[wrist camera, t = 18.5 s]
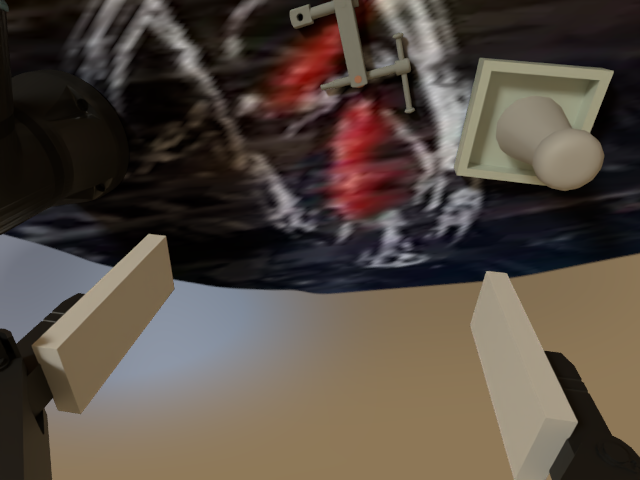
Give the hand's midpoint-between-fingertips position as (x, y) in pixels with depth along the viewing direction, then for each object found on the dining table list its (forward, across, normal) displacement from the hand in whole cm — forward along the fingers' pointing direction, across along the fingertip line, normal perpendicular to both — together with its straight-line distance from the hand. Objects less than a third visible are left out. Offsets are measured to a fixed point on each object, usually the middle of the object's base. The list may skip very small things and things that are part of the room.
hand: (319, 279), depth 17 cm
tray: (+29, +16, +1) cm, 33 cm away
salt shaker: (+28, +16, +1) cm, 33 cm away
